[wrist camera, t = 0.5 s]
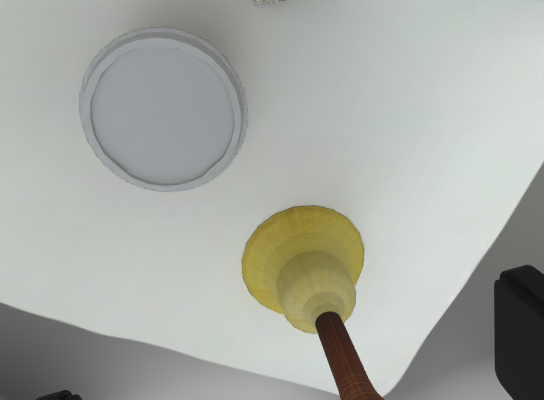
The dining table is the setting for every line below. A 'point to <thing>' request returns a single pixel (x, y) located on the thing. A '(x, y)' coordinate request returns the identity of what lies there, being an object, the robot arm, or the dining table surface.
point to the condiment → (265, 1)
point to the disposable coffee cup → (163, 109)
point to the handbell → (312, 283)
